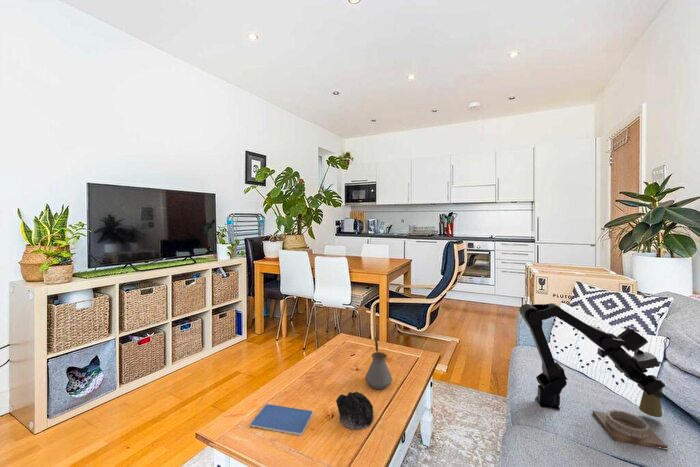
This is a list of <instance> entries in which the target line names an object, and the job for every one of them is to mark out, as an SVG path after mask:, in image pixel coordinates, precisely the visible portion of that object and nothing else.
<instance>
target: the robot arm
mask: <svg viewBox="0 0 700 467" xmlns="http://www.w3.org/2000/svg"><path fill="white" fill-rule="evenodd" d="M519 314H520V316H521V317H522V319H523V320H524V322H525V324H526V325H527V326H528V328H529V331H530V333H531V336H532V338H533V339H532V340H533V342H534V344H535V346H536V349H537V352H538V354H539V357H540V360H541V370H542V372H541V373H540V374H538V375H537V376H535V378H536V381H537V383H538V385H537V396H535V399H536V401H537V402H538V404H539V406H540V407H541V408H546V409H553V410H559V411H560V410H561V407H560V405H561V393H562V391H563V389H564V388H565V387H566V386H567V384H568V383H567V381H568V380H569V379H568V378H567V377H566V373H565V370H564V368H563V367H562V366H561V365H560V363H558V362H555V359H554V356H553V354H552V350H551V349H550V346H549V344H548V340H547V338H546V335H545V333H544V330H543V321H544V320H545V321H546V320H548V319H550V318H554V317H555V318H556V317H557V318H558V319H559V320H561V321H563V322H565V324H568V325H569V326H571V327H572V328H574V329H575V330H578V332H581V333H582V334H583V335H584V336H585V337H586V338H587V339H589V341H590V342H592V343H593V344H595V345H596V346H598V348H597V352H596V355H598V356H599V357H601V358H603V359H604V358H606V357H608V358H609V360H610V361H611V362H612V364H614V368H616V370H617V371H619V372H620V373H621V374H623V375H624V376H625V377H626V378H627V379H628V380H630V381H632V382H634V383H636V384H637V386H638V388H639V389H641V390H642V392H643V391H644V392H645V393H646V394H647V395H654V396H656V397H658V398H660V399H663V398H664V395H663V394H662V393H661V392H660V389H662V390H663V388H664V387H665V388H666V384H665V383H664V381H662V380H661V379H659V378H658V377H657V376H656V375H653V374H648V375H647V374H646V373H648V372H649V369H652V368H658V367H661V364H660V362H659V360H658V358H657V356H655V355H654V354H652V353H651V352H648V351H643V350H641V349H640V348H643V347H644V346H645V345H646V344H648V343H649V341H648V339H646V338H645V337H644V336H642V335H641V334H640V333H639V332H637V331H636V330H635V329H633V328H632V327H627V328H625V329H624V331H623V332H621V333H619V334H618V335H616V334H614V333H612V332H606V331H605V330H603V329H602V328H599V327H597V326H594V325H592V324H588V323H586V322H584V321H582V320H580V319H579V318H577V317H575V316H574V315H573V314H571V313H569V312H567V311H566V310H565V309H563V308H561V306H559V305H557V304H556V303H554V302H553V303H552V302H551V303H544V304H543V303H542V304H539V303H538V304H537V303H536V304H535V303H534V304H529V303H523V304H522V305H521V306H520V308H519ZM628 352H632V353H633V356H632V355H630V354H629V353H628Z"/></svg>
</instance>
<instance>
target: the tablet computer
mask: <svg viewBox="0 0 700 467" xmlns="http://www.w3.org/2000/svg"><path fill="white" fill-rule="evenodd" d="M313 416H314V410H309V409H302V408H295V407H290V406H283V405H278V404H276V405H275V404H268V403H266V404H265V405H263V407H262V409H260V411H259V412H258V413H257V414H256V415H255V417H254V418H253V420H252V421H251V422H250V423H249V427H250V426H253V427H252V428H255V427H258V428H257V429H261V428H263V430H267V429H268V431H273V432H279V433H282V434H283V433H285V434H289V435H294V436H300V437H301V436H303V435H304V433H305V431H306V429H307V427H308V426H309V423H310V421H311V419H312V417H313Z"/></svg>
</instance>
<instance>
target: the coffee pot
mask: <svg viewBox="0 0 700 467" xmlns="http://www.w3.org/2000/svg"><path fill="white" fill-rule="evenodd" d="M374 342H375V344H374V346H375V351H376V352H373V353H372V354H371V358H372V362H371V364H370V366H369V368H368V369H367V372H366V374H365V381H366V383H367V384H368V385H369V386H370V387H371V388H372V389H374V390H385V389H386V388H388V387H389V386H390V385H391V384H392V381H393V377H392V374H391V372H390V369H389V367H388V365H387V362H386V359H387V357H388V355H387V354H386V353H384V352H379V344H378V337H376V336H375V337H374Z"/></svg>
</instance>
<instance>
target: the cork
mask: <svg viewBox="0 0 700 467" xmlns="http://www.w3.org/2000/svg"><path fill="white" fill-rule="evenodd" d="M660 392H661V394H662V393H663V388H662V389H660ZM662 409H663V408H662V401H661V398H658V397H656V396H654V395H647V394H646V393H645V392H644V391H643V390H642V396H641V398H640V403H639V406H638V410H639V411H640V412H642V413H644V414H645V415H648V416H650V417H655V418H662V417H663V410H662Z"/></svg>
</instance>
